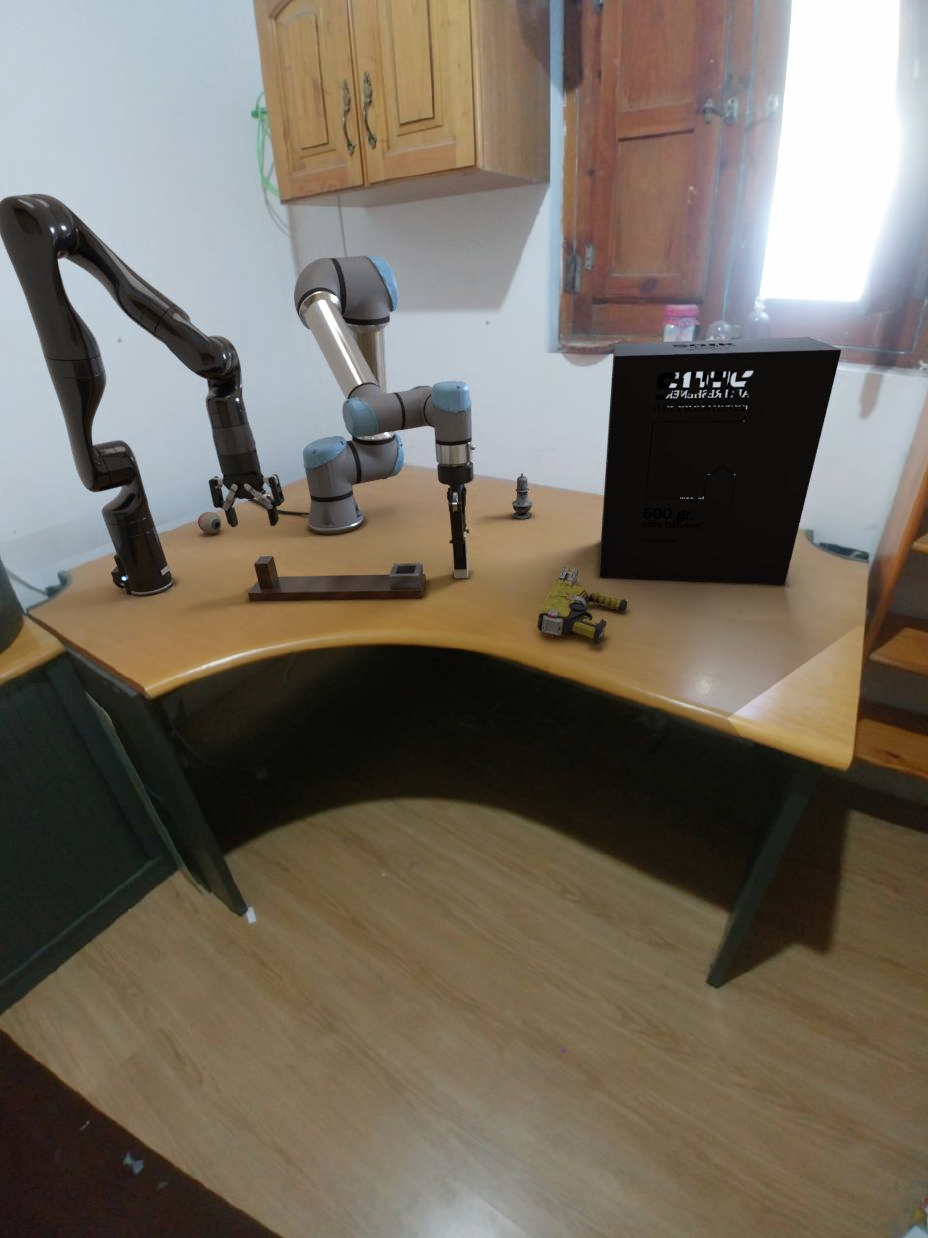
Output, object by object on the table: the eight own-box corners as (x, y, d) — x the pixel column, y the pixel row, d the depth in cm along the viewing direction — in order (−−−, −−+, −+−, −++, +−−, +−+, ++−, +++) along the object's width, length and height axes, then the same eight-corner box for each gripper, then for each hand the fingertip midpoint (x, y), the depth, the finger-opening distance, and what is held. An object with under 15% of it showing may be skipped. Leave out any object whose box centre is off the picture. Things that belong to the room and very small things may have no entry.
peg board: (249, 601, 132) (241, 568, 128) (262, 584, 139) (254, 552, 135) (421, 598, 129) (418, 564, 125) (426, 581, 136) (423, 548, 132)
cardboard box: (763, 546, 142) (808, 336, 120) (784, 584, 125) (841, 349, 103) (600, 540, 150) (614, 343, 127) (599, 576, 133) (614, 355, 110)
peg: (454, 578, 136) (451, 537, 131) (455, 572, 139) (453, 531, 134) (467, 578, 136) (465, 536, 131) (468, 572, 139) (466, 531, 134)
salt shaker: (531, 519, 165) (531, 476, 159) (510, 518, 166) (509, 476, 160) (533, 511, 170) (534, 469, 164) (513, 511, 171) (512, 469, 165)
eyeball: (211, 538, 165) (205, 517, 162) (196, 534, 168) (190, 514, 165) (229, 530, 169) (223, 510, 166) (214, 527, 172) (209, 507, 169)
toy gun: (633, 576, 125) (562, 563, 129) (620, 630, 105) (537, 613, 109) (629, 596, 128) (560, 583, 132) (616, 653, 108) (534, 635, 111)
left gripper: (192, 454, 116) (214, 533, 124) (263, 451, 115) (281, 531, 123) (209, 444, 123) (229, 520, 131) (277, 441, 121) (293, 518, 129)
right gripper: (471, 472, 117) (476, 580, 129) (474, 451, 131) (479, 550, 143) (432, 474, 118) (441, 581, 130) (440, 452, 132) (447, 551, 144)
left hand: (254, 525), depth 127 cm, fingers open, 8 cm apart
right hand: (461, 565), depth 136 cm, fingers closed on peg, 3 cm apart
